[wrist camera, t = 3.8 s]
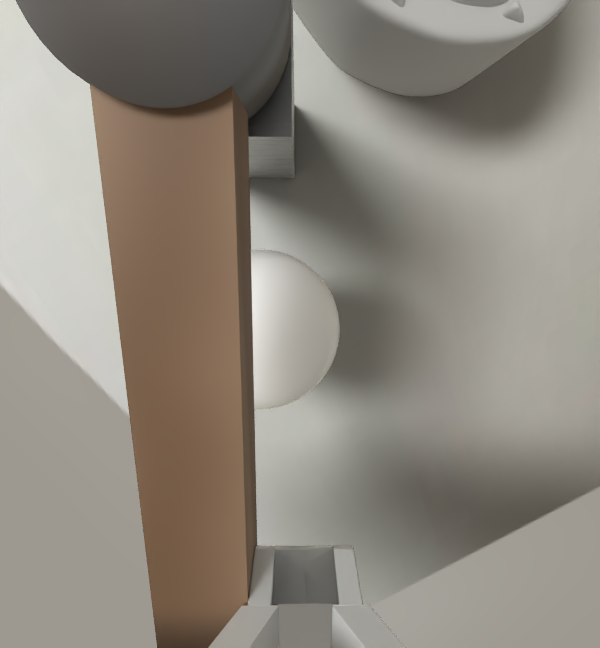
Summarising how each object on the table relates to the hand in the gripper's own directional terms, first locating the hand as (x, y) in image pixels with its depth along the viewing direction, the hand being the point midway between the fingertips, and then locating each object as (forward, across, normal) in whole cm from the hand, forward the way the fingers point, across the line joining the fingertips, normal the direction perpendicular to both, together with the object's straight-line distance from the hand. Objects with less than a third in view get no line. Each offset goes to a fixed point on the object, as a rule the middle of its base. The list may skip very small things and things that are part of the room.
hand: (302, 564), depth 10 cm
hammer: (+1, +2, -5) cm, 5 cm away
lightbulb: (+15, +2, -4) cm, 16 cm away
